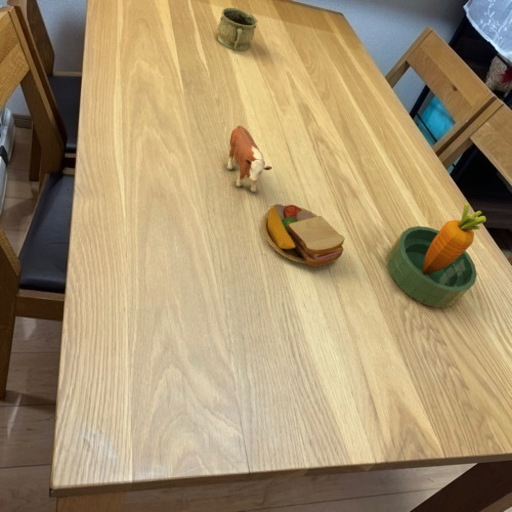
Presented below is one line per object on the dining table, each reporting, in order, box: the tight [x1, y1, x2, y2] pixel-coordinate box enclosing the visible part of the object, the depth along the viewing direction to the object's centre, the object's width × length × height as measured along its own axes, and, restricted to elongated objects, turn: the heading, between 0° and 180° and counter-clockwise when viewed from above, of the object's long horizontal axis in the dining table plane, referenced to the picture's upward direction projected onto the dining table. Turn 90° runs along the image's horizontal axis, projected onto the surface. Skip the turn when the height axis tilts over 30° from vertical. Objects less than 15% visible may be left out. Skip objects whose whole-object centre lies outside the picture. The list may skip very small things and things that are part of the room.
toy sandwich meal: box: [261, 203, 346, 267], centre depth 78 cm, size 12×14×5 cm
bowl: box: [386, 225, 478, 308], centre depth 81 cm, size 14×14×5 cm
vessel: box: [217, 7, 258, 51], centre depth 117 cm, size 12×9×6 cm
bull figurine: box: [226, 124, 273, 193], centre depth 83 cm, size 4×13×8 cm, turn 15°
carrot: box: [422, 203, 487, 274], centre depth 77 cm, size 5×5×15 cm
